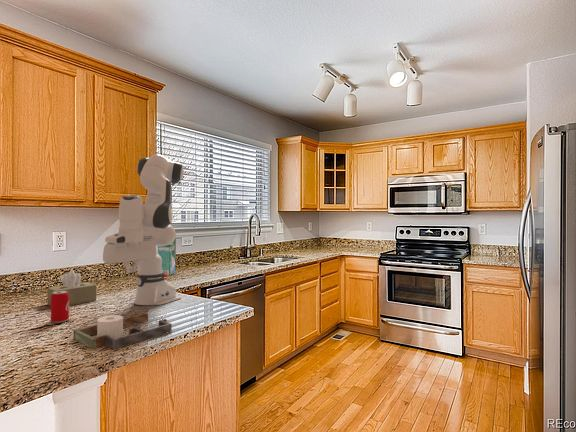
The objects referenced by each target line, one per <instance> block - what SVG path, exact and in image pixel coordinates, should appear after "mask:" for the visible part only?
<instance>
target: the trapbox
mask: <svg viewBox="0 0 576 432" xmlns="http://www.w3.org/2000/svg"><path fill="white" fill-rule="evenodd" d="M148 320H149V312H145V313H140V314H136V315H132V316H128V317H127V316H126V317H123V328H125V327H128V326H131V325H132V327H131V328H128V335H123V337H120V338H116V339H115V338H113V337H110V336H108V335H104V336H100V337H97V336H96V337H93V335H97V324H95V325H90V326H86V327H82V328H77V329H74V330H73V340H75V341H77V342H79V343H81V344H83V345H84V346H87V347H88V348H90V349H92V350H93V349H96V348H99V347H103V346H106V347H108V348H110V349H112V350H116V349H120V348H122V347H125V346H129V345H133V344H136V343H140V342H142V341H146V340H149V339H152V337H153V338H155V336H156V337H159V336H162V335H165V334H164V333H166V334H168V333H167V332H169V333H171V332H170V331H172V325H173V324H172V323H170V322H167V321H168V320H167V318H163V319H160V320H158V323H157V325H158V326H155V327H152V328H148V329H141V328H142V327H141V326H140V325H138V326H134V327H133V325H135V324H139V323H143V322H147V321H148ZM161 334H162V335H161ZM158 335H159V336H158Z"/></svg>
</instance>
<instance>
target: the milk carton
mask: <svg viewBox="0 0 576 432" xmlns="http://www.w3.org/2000/svg"><path fill="white" fill-rule="evenodd" d="M176 240H177V239H176V238H175V240H174V242H173V243H172V244H171V245H166V246H157V254H158V255H160V256H161V259H162V273H164V274H165V273H166V274H169V276H172V275H174V274H176V256H177V255H176V254H177V252H176V247H177V245H176V244H177V241H176ZM173 273H174V274H173ZM171 274H172V275H171Z"/></svg>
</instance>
